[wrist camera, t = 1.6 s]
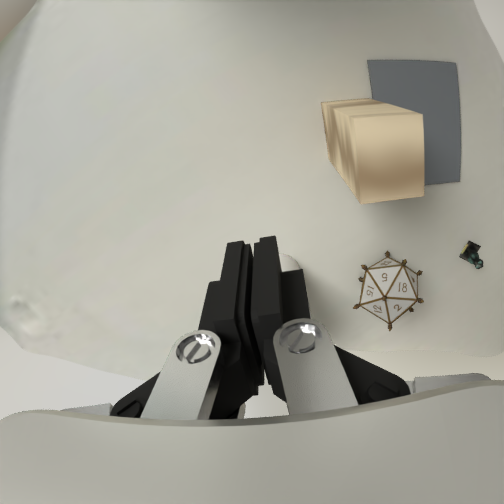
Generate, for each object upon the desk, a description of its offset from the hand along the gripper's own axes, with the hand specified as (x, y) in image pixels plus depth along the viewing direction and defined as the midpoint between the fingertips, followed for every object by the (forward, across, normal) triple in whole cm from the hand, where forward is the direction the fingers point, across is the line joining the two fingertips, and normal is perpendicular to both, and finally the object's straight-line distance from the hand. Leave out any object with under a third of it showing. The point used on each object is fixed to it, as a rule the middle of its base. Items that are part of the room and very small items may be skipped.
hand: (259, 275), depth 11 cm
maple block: (+23, -9, 0) cm, 24 cm away
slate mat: (+23, -17, 0) cm, 28 cm away
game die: (+23, -12, +18) cm, 31 cm away
